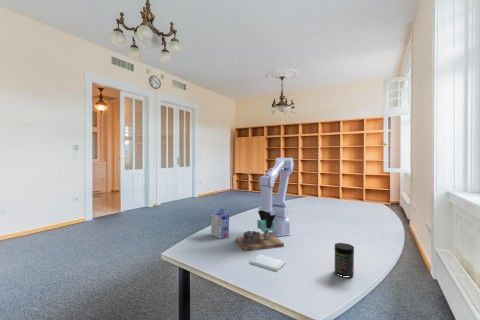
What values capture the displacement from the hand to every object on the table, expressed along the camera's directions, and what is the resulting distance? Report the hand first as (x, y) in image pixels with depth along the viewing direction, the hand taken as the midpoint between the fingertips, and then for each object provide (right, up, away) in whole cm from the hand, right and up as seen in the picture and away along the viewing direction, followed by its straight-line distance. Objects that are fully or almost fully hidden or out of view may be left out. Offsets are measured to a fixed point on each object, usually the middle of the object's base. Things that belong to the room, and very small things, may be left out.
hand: (266, 226), depth 123 cm
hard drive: (-2, -9, -24) cm, 26 cm away
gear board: (-4, -8, -1) cm, 9 cm away
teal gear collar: (0, -2, 0) cm, 2 cm away
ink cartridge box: (-24, -8, +10) cm, 28 cm away
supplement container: (+25, -9, -33) cm, 42 cm away
